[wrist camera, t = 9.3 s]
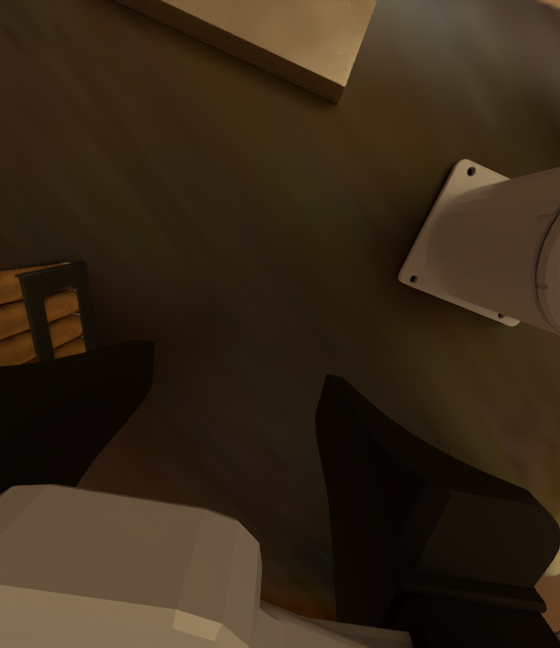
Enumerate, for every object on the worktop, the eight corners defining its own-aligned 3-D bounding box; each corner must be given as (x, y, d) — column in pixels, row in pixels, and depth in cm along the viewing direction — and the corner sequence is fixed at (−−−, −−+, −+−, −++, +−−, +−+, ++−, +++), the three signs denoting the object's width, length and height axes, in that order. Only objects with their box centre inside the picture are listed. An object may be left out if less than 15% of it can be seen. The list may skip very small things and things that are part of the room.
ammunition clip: (104, 394, 23) (-79, 556, 11) (82, 392, 23) (-125, 553, 11) (85, 261, 19) (-203, 298, 8) (59, 259, 19) (-268, 293, 8)
